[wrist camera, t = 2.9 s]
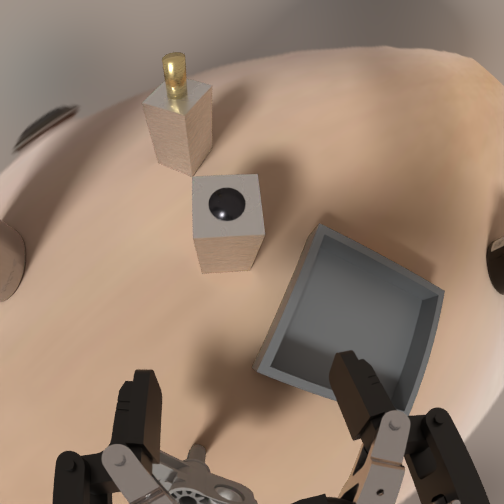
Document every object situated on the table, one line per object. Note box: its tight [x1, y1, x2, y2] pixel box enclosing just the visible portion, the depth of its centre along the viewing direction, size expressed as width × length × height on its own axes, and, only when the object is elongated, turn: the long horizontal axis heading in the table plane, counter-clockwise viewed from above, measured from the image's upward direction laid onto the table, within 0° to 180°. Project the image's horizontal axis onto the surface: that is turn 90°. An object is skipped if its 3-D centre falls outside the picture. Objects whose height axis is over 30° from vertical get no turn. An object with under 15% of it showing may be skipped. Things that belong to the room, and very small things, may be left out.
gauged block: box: [142, 52, 212, 177], centre depth 24 cm, size 4×4×14 cm
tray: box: [252, 223, 445, 416], centre depth 24 cm, size 16×14×4 cm
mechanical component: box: [152, 445, 258, 504], centre depth 16 cm, size 3×10×10 cm, turn 64°
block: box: [192, 174, 265, 274], centre depth 23 cm, size 4×4×10 cm
